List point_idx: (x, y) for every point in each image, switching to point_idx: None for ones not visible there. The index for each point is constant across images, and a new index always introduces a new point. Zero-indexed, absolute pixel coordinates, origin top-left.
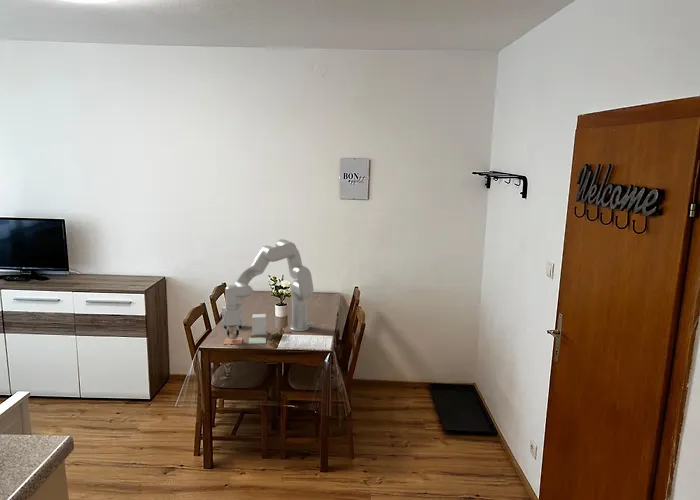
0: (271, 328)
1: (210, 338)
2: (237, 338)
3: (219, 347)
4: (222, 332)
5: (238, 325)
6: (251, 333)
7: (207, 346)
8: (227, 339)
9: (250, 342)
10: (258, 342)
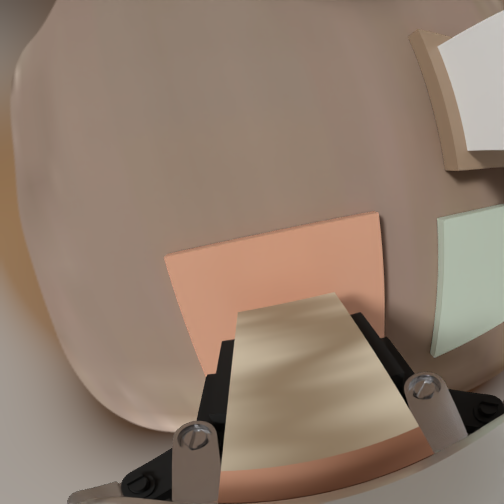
0: (484, 4)
1: (34, 246)
2: (325, 248)
3: None
4: (84, 58)
5: (453, 437)
6: (448, 106)
7: (108, 408)
8: (205, 295)
9: (450, 334)
10: (492, 320)
